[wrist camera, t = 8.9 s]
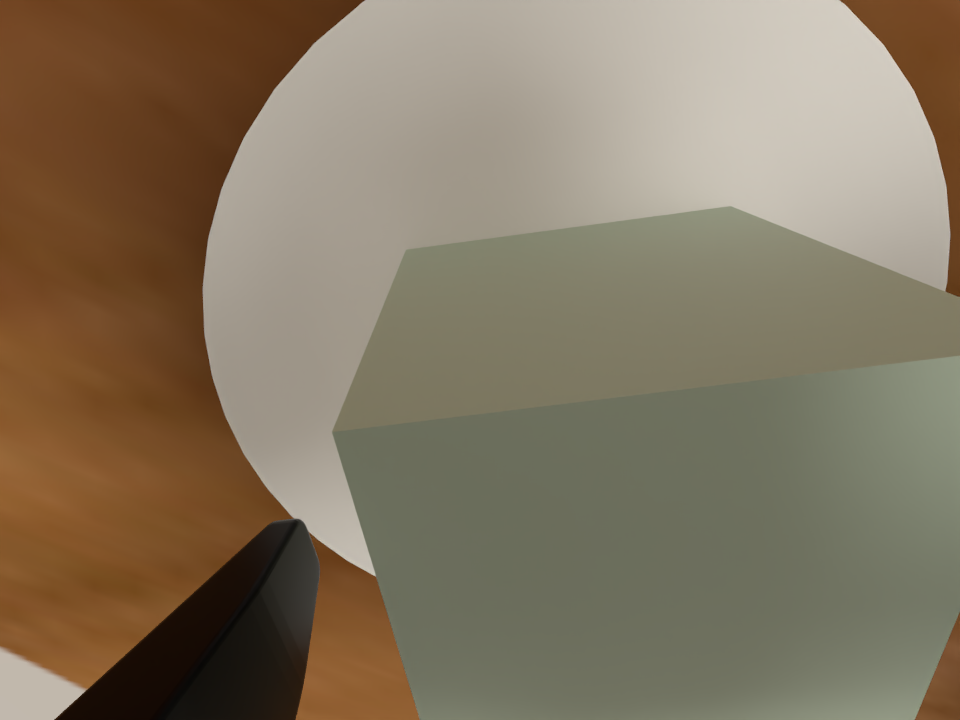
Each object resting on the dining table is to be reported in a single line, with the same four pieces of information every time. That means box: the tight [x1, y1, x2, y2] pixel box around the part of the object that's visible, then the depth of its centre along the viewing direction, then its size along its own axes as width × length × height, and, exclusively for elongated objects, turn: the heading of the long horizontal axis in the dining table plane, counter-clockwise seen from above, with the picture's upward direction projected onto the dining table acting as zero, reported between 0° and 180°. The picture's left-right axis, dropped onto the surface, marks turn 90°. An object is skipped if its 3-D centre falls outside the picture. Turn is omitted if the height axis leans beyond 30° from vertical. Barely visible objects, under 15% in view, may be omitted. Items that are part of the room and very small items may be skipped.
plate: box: [203, 0, 950, 576], centre depth 12 cm, size 15×15×2 cm
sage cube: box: [332, 206, 960, 720], centre depth 8 cm, size 6×6×6 cm
